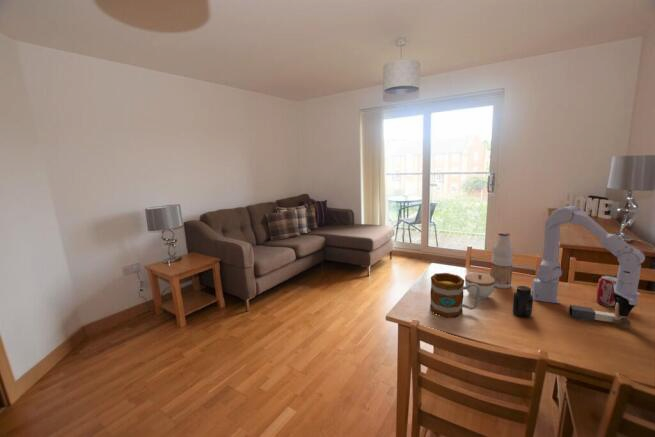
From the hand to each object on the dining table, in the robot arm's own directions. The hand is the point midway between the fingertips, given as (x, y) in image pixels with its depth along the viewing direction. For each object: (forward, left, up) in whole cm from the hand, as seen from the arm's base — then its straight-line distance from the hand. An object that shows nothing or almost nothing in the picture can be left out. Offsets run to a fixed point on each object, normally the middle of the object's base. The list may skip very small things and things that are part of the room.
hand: (621, 313), depth 111 cm
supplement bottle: (-33, -6, -4) cm, 34 cm away
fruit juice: (-39, +23, -4) cm, 45 cm away
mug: (-59, -14, -4) cm, 61 cm away
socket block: (0, 0, -4) cm, 4 cm away
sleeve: (-12, 0, -4) cm, 13 cm away
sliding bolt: (-5, 0, -4) cm, 6 cm away
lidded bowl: (-49, +6, -4) cm, 49 cm away
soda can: (+1, +18, -4) cm, 19 cm away
